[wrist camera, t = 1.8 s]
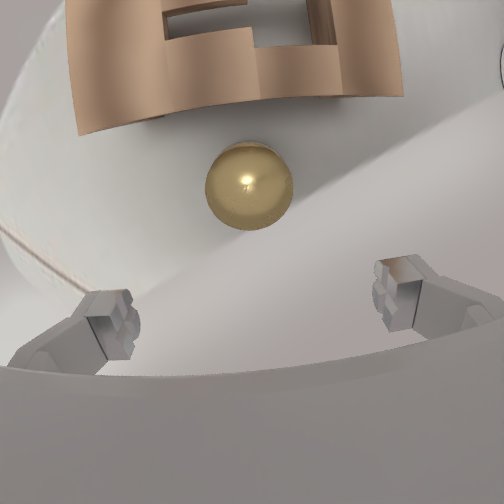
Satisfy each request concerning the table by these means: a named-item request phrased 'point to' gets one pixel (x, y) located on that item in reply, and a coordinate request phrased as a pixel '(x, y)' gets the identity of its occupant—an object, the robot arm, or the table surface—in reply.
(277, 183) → the peg
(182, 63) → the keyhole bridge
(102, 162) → the table surface
